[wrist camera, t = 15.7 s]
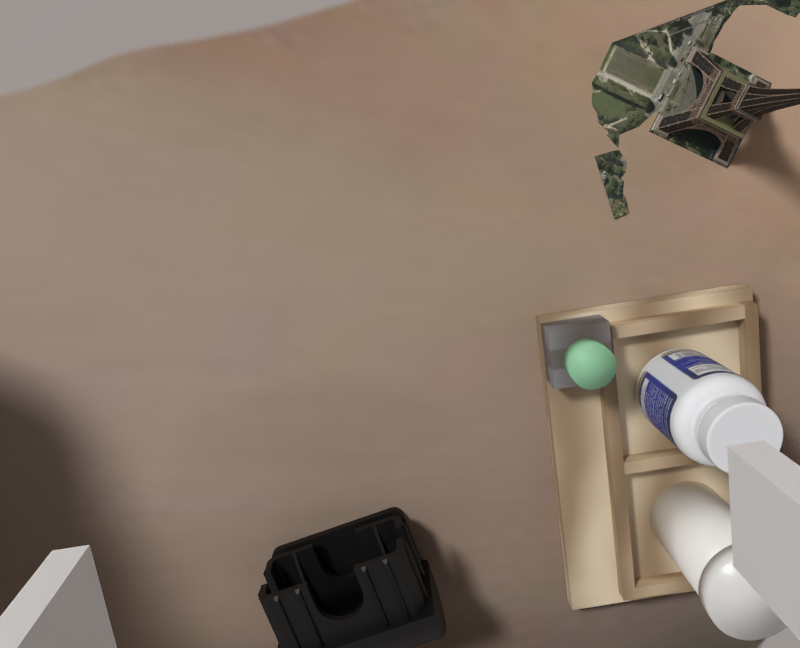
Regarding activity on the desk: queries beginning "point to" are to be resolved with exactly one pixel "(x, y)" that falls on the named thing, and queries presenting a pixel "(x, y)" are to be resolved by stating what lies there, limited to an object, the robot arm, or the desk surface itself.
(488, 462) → the desk surface
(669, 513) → the seated billet
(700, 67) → the eiffel tower figurine
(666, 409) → the pill bottle
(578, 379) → the button
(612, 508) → the wooden compartment tray
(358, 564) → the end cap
